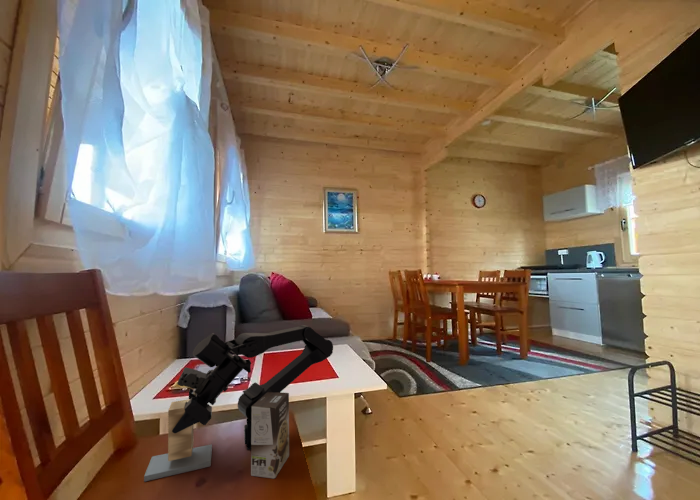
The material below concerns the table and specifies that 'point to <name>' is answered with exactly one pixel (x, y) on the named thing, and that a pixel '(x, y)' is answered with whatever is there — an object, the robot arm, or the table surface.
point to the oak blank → (181, 441)
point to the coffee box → (269, 434)
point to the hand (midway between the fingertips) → (175, 427)
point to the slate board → (178, 463)
